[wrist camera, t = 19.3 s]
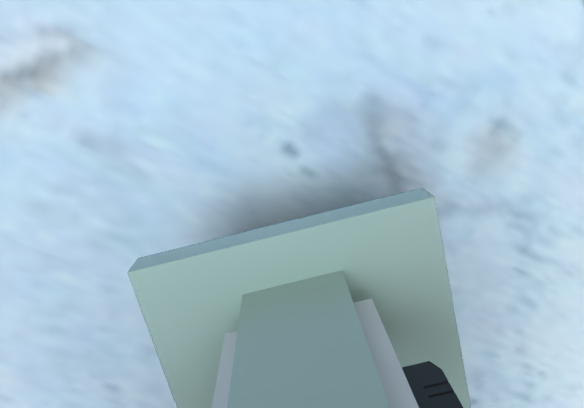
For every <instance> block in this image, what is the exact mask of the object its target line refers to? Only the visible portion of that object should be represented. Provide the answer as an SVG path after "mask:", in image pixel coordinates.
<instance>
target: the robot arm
mask: <svg viewBox="0 0 584 408" xmlns="http://www.w3.org/2000/svg"><path fill="white" fill-rule="evenodd" d="M354 306H355V309H356V312H357V314H358V317H359V320H360V323H361V326H362V329H363V332H364V335H365V338H366V340H367V343H368V346H369V349H370V352H371V355H372V358H373V361H374V363H375V366H376V369H377V372H378V375H379V378H380V381H381V384H382V387H383V389H384V392H385V395H386V398H387V401H388V404H389V407H390V408H463V406H462V404H461V402H460V401H459V399H458V397H457V395H456V394H455V392H454V390H453V388H452V386H451V385H450V383H449V382H448V379H447V378H446V376H445V374H444V372H443V371H442V369H441V368H439V367H438V366H436V365H435V364H433V363H432V362H430V361H427V362H423V363H418V364H414V365H410V366H406V367H401V365H400V363H399V360H398V358H397V356H396V353H395V351H394V349H393V346H392V344H391V342H390V340H389V337H388V335H387V333H386V330H385V328H384V326H383V323H382V321H381V319H380V316H379V314H378V312H377V309H376V307H375V305H374V303H373V300H372V298H371V299H367V300H363V301H359V302H355V303H354ZM236 338H237V331H235V332H230V333H226V334H225V337H224V342H223V348H222V353H221V358H220V364H219V369H218V375H217V380H216V386H215V391H214V397H213V402H212V408H227V404H228V397H229V389H230V382H231V375H232V368H233V360H234V353H235V346H236Z"/></svg>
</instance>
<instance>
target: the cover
mask: <svg viewBox="0 0 584 408" xmlns="http://www.w3.org/2000/svg"><path fill="white" fill-rule="evenodd" d="M128 275H129V278H130V281H131V283H132V286H133V289H134V292H135V294H136V297H137V300H138V303H139V305H140V308H141V311H142V314H143V316H144V319H145V322H146V324H147V327H148V330H149V333H150V335H151V338H152V341H153V344H154V346H155V349H156V352H157V354H158V357H159V360H160V363H161V365H162V368H163V371H164V374H165V376H166V379H167V382H168V385H169V387H170V390H171V393H172V395H173V398H174V401H175V404H176V406H177V408H212V402H213V397H214V391H215V386H216V380H217V375H218V369H219V364H220V358H221V353H222V348H223V342H224V337H225V334H226V333H230V332H235V331H237V338H236V346H235V353H234V360H233V368H232V375H231V382H230V389H229V397H228V404H227V408H390V407H389V404H388V401H387V398H386V395H385V392H384V389H383V387H382V384H381V381H380V378H379V375H378V372H377V369H376V366H375V363H374V361H373V358H372V355H371V352H370V349H369V346H368V343H367V340H366V338H365V335H364V332H363V329H362V326H361V323H360V320H359V317H358V314H357V312H356V309H355V306H354V303H355V302H359V301H363V300H367V299H371V298H372V300H373V303H374V305H375V307H376V309H377V312H378V314H379V316H380V319H381V321H382V323H383V326H384V328H385V330H386V333H387V335H388V337H389V340H390V342H391V344H392V346H393V349H394V351H395V353H396V356H397V358H398V360H399V363H400V365H401V367H406V366H410V365H414V364H418V363H423V362H427V361H430V362H432V363H433V364H435V365H436V366H438V367H439V368H441V369H442V371H443V372H444V374H445V376H446V378H447V379H448V382H449V383H450V385H451V386H452V388H453V390H454V392H455V394H456V395H457V397H458V399H459V401H460V402H461V404H462V406H463V408H471V406H470V400H469V394H468V388H467V383H466V377H465V371H464V365H463V360H462V354H461V348H460V342H459V336H458V331H457V325H456V319H455V313H454V307H453V302H452V296H451V290H450V284H449V279H448V273H447V267H446V261H445V255H444V250H443V244H442V238H441V232H440V226H439V221H438V215H437V209H436V203H435V197H434V196H432V195H431V194H430V193H429V192H427V191H426V190H425V189H423V188H420V189H416V190H412V191H408V192H404V193H400V194H396V195H392V196H388V197H383V198H379V199H375V200H371V201H367V202H363V203H359V204H355V205H351V206H347V207H343V208H339V209H335V210H331V211H327V212H323V213H319V214H315V215H311V216H307V217H303V218H298V219H294V220H290V221H286V222H282V223H278V224H274V225H270V226H266V227H262V228H258V229H254V230H250V231H246V232H242V233H238V234H234V235H230V236H226V237H222V238H218V239H213V240H209V241H205V242H201V243H197V244H193V245H189V246H185V247H181V248H177V249H173V250H169V251H165V252H161V253H157V254H153V255H149V256H145V257H141V258H138V259H137V260H136V262H135V263H134V264H133V266H132V267H131V269H130V270H129V271H128Z"/></svg>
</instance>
